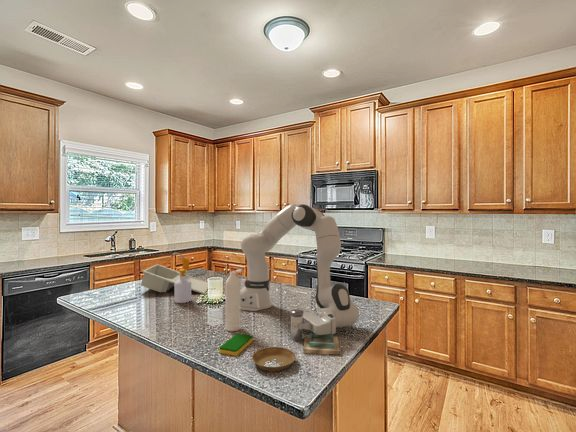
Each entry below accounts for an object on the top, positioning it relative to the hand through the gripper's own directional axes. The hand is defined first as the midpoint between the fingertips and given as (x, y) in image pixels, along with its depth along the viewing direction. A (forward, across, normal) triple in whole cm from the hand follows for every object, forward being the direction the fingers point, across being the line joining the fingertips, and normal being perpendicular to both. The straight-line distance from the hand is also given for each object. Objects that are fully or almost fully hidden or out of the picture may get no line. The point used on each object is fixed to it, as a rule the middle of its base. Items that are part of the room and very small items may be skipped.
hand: (294, 323), depth 126 cm
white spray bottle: (+19, -21, +6) cm, 29 cm away
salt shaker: (-1, 0, +6) cm, 6 cm away
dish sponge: (+23, -3, +7) cm, 24 cm away
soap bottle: (+35, -72, +6) cm, 80 cm away
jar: (-31, -29, +6) cm, 43 cm away
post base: (-6, +10, +6) cm, 14 cm away
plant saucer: (+15, +15, +6) cm, 22 cm away
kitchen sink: (+35, -100, +7) cm, 106 cm away
